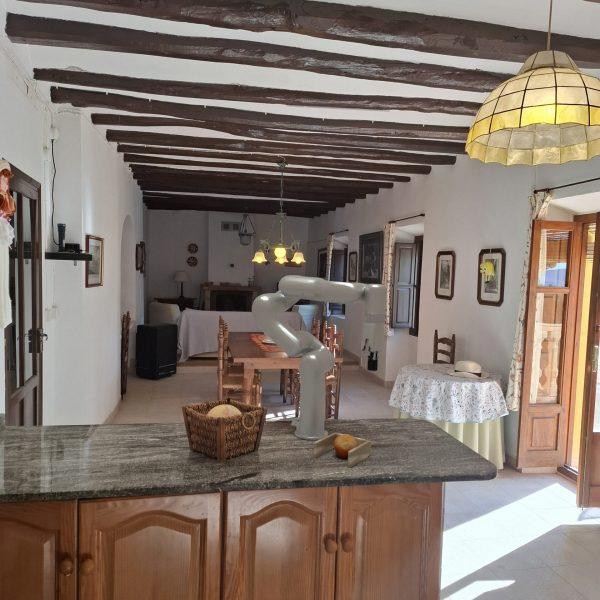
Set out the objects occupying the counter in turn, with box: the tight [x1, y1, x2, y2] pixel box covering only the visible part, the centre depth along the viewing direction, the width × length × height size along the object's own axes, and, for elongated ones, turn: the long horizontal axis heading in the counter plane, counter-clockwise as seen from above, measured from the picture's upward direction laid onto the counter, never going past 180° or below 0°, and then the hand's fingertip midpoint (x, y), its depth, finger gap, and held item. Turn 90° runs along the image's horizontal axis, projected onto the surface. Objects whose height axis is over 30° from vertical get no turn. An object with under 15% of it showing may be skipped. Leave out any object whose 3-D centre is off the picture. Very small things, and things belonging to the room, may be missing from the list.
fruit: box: [333, 433, 358, 459], centre depth 172 cm, size 8×8×8 cm
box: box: [312, 431, 372, 469], centre depth 171 cm, size 14×14×5 cm
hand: (372, 370), depth 182 cm, fingers closed
